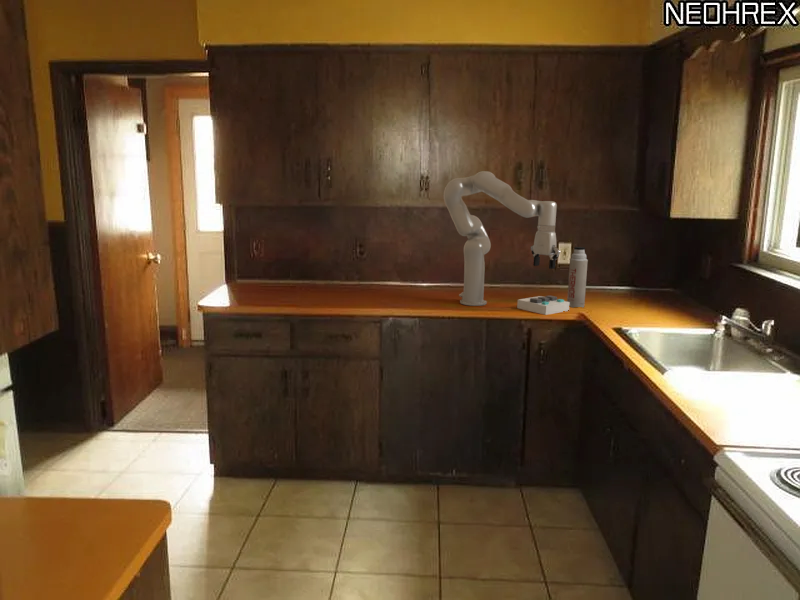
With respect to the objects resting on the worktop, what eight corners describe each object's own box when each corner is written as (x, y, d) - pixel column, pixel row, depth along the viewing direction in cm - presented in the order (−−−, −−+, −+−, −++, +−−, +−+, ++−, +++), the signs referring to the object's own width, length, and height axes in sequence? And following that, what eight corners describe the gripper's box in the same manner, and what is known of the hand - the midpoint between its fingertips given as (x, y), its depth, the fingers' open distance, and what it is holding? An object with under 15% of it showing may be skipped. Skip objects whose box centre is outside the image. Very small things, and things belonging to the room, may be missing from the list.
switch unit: (517, 308, 305) (517, 297, 304) (540, 304, 315) (541, 293, 314) (545, 314, 292) (546, 303, 291) (569, 310, 302) (569, 299, 301)
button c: (544, 303, 307) (545, 296, 306) (549, 302, 309) (549, 295, 308) (552, 305, 304) (552, 297, 303) (556, 304, 306) (557, 296, 305)
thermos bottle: (573, 308, 307) (577, 248, 301) (563, 304, 314) (567, 246, 309) (587, 307, 310) (592, 247, 304) (577, 303, 317) (581, 245, 312)
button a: (529, 306, 301) (530, 298, 300) (534, 305, 303) (534, 297, 302) (536, 307, 298) (537, 300, 297) (541, 306, 299) (541, 299, 299)
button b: (537, 304, 304) (537, 297, 303) (542, 303, 306) (542, 296, 305) (544, 306, 301) (544, 298, 300) (549, 305, 302) (549, 298, 302)
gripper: (526, 227, 299) (524, 265, 302) (554, 231, 285) (552, 270, 288) (538, 227, 303) (536, 264, 306) (567, 230, 289) (564, 269, 292)
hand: (544, 267), depth 297 cm, fingers open, 9 cm apart
